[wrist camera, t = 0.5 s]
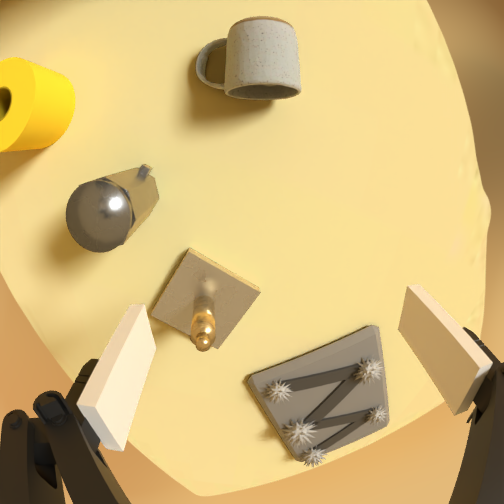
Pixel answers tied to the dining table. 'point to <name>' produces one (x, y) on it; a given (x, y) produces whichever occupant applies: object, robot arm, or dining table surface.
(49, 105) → the tape roll
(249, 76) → the ceramic mug
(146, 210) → the trash can
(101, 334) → the dining table surface
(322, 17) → the dining table surface
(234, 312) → the square metal stand
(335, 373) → the decorative plate
